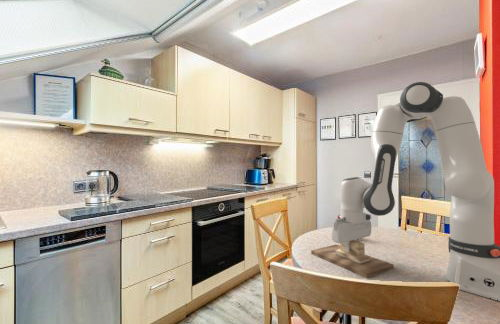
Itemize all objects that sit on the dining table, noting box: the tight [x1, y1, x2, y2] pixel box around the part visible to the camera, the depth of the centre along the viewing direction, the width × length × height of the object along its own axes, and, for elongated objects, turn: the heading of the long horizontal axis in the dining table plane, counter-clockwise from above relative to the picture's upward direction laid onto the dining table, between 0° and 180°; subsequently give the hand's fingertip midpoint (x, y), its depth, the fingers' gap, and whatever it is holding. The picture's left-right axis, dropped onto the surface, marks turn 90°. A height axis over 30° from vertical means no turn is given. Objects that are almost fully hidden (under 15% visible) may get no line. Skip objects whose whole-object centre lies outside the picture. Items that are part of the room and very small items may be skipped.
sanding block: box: [336, 240, 371, 264], centre depth 101 cm, size 12×6×7 cm, turn 29°
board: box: [310, 244, 395, 279], centre depth 103 cm, size 28×16×2 cm, turn 29°
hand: (352, 250), depth 101 cm, fingers closed on sanding block, 4 cm apart
